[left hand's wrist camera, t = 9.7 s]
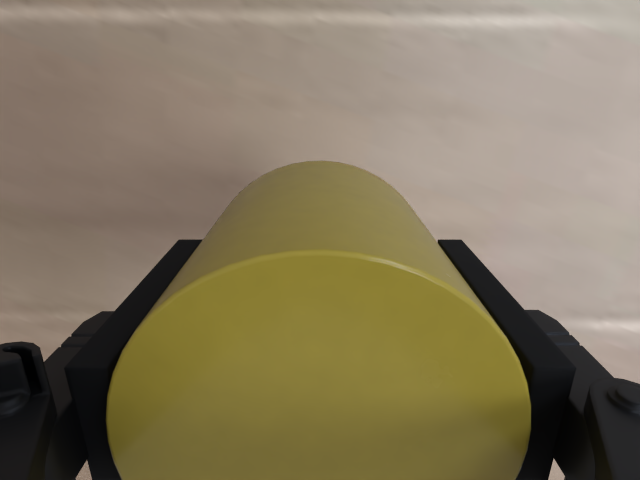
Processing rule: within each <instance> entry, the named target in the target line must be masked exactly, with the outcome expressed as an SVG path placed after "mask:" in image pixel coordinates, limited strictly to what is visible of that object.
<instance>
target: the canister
mask: <svg viewBox="0 0 640 480" xmlns="http://www.w3.org/2000/svg"><path fill="white" fill-rule="evenodd" d="M106 426H107V436H108V443H109V447H110V450H111V454H112V457H113V461H114V464H115V466H116V468H117V470H118V473H119V475H120V477H121V479H122V480H516V478H517V476H518V474H519V472H520V470H521V467H522V464H523V461H524V458H525V455H526V452H527V449H528V443H529V437H530V431H531V402H530V396H529V390H528V385H527V380H526V378H525V375H524V372H523V369H522V366H521V363H520V360H519V358H518V357H517V355H516V353H515V351H514V349H513V348H512V346H511V344H510V342H509V340H508V339H507V337H506V336H505V334H504V333H503V332H502V330H501V329H500V328H499V326H498V325H497V323H496V322H495V321H494V319H493V318H492V317H491V315H490V314H489V313H488V311H487V310H486V308H485V307H484V306H483V304H482V303H481V302H480V300H479V299H478V298H477V296H476V295H475V293H474V292H473V291H472V289H471V288H470V287H469V285H468V284H467V283H466V281H465V280H464V278H463V277H462V276H461V274H460V273H459V272H458V270H457V269H456V268H455V266H454V265H453V263H452V262H451V261H450V259H449V258H448V257H447V255H446V254H445V252H444V251H443V250H442V248H441V247H440V246H439V244H438V243H437V242H436V240H435V239H434V237H433V236H432V235H431V233H430V232H429V231H428V229H427V228H426V227H425V225H424V224H423V222H422V221H421V220H420V218H419V217H418V216H417V214H416V213H415V212H414V210H413V209H412V207H411V206H410V205H409V204H408V202H407V201H406V200H405V199H404V197H403V196H402V195H401V194H400V193H399V192H398V191H397V190H396V189H394V188H393V187H392V186H391V185H390V184H388V183H387V182H385V181H384V180H383V179H381V178H380V177H378V176H376V175H374V174H372V173H370V172H368V171H366V170H363V169H361V168H358V167H355V166H352V165H348V164H344V163H339V162H330V161H306V162H300V163H295V164H290V165H287V166H284V167H280V168H277V169H275V170H273V171H271V172H269V173H266V174H264V175H262V176H261V177H259V178H258V179H256V180H255V181H253V182H252V183H250V184H249V185H248V186H247V187H245V188H244V189H243V190H242V191H241V192H240V193H239V194H238V195H237V196H236V197H235V198H234V199H233V201H232V202H231V203H230V204H229V205H228V207H227V208H226V209H225V211H224V212H223V213H222V215H221V216H220V217H219V219H218V220H217V221H216V223H215V224H214V226H213V227H212V228H211V230H210V231H209V232H208V234H207V235H206V236H205V238H204V239H203V240H202V242H201V243H200V244H199V246H198V247H197V248H196V250H195V251H194V252H193V254H192V255H191V256H190V258H189V259H188V260H187V262H186V263H185V264H184V266H183V267H182V268H181V270H180V271H179V272H178V274H177V275H176V276H175V278H174V279H173V280H172V282H171V283H170V284H169V286H168V287H167V288H166V290H165V291H164V292H163V294H162V295H161V296H160V298H159V299H158V301H157V302H156V303H155V305H154V306H153V307H152V309H151V310H150V311H149V313H148V314H147V315H146V317H145V318H144V319H143V321H142V322H141V323H140V325H139V326H138V327H137V329H136V330H135V332H134V333H133V335H132V336H131V338H130V339H129V341H128V343H127V344H126V346H125V347H124V349H123V350H122V352H121V355H120V357H119V359H118V362H117V364H116V366H115V369H114V371H113V374H112V378H111V382H110V386H109V391H108V395H107V409H106Z"/></svg>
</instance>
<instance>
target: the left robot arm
mask: <svg viewBox="0 0 640 480" xmlns="http://www.w3.org/2000/svg"><path fill="white" fill-rule="evenodd" d="M201 242H202V240H178V241H177V242H176V244H175V245H174V246H173V247H172V248H171V249H170V250H169V251H168V252H167V254H166V255H165V256H164V257H163V258H162V259H161V260H160V261H159V262H158V264H157V265H156V266H155V267H154V268H153V269H152V270H151V271H150V273H149V274H148V275H147V276H146V277H145V278H144V279H143V280H142V281H141V283H140V284H139V285H138V286H137V287H136V288H135V289H134V290H133V291H132V293H131V294H130V295H129V296H128V297H127V298H126V299H125V300H124V301H123V303H122V304H121V305H120V306H119V307H118V308H117V309H116V310H115V311H102V312H100V313H98V314H97V315H95V316H93V317H91V318H90V319H88V320H86V321H84V322H83V323H82V324H81V325H80V326H79V327H78V328H77V329H76V330H75V331H74V332H73V333H72V336H71V337H68V338H67V339H66V340H65V341H64V342H63V343H62V344H61V347H58V348H57V349H56V350H55V351H54V353H53V354H52V355H51V356H50V357H49V358H48V359H47V360H46V361H45V362H44V361H43V358H42V354H41V350H40V347H38V346H37V345H35V344H34V343H28V342H12V343H4V344H1V345H0V480H76V476H77V475H78V473H79V471H80V470H81V468H82V467H83V465H84V463H85V462H86V460H87V461H88V465H89V469H90V472H91V476H92V480H122V479H121V477H120V475H119V473H118V470H117V468H116V466H115V464H114V461H113V457H112V454H111V450H110V447H109V443H108V436H107V426H106V409H107V395H108V391H109V386H110V382H111V378H112V374H113V371H114V369H115V366H116V364H117V362H118V359H119V357H120V355H121V352H122V350H123V349H124V347H125V346H126V344H127V343H128V341H129V339H130V338H131V336H132V335H133V333H134V332H135V330H136V329H137V327H138V326H139V325H140V323H141V322H142V321H143V319H144V318H145V317H146V315H147V314H148V313H149V311H150V310H151V309H152V307H153V306H154V305H155V303H156V302H157V301H158V299H159V298H160V296H161V295H162V294H163V292H164V291H165V290H166V288H167V287H168V286H169V284H170V283H171V282H172V280H173V279H174V278H175V276H176V275H177V274H178V272H179V271H180V270H181V268H182V267H183V266H184V264H185V263H186V262H187V260H188V259H189V258H190V256H191V255H192V254H193V252H194V251H195V250H196V248H197V247H198V246H199V244H200V243H201ZM438 244H439V246H440V247H441V248H442V250H443V251H444V252H445V254H446V255H447V257H448V258H449V259H450V261H451V262H452V263H453V265H454V266H455V268H456V269H457V270H458V272H459V273H460V274H461V276H462V277H463V278H464V280H465V281H466V283H467V284H468V285H469V287H470V288H471V289H472V291H473V292H474V293H475V295H476V296H477V298H478V299H479V300H480V302H481V303H482V304H483V306H484V307H485V308H486V310H487V311H488V313H489V314H490V315H491V317H492V318H493V319H494V321H495V322H496V323H497V325H498V326H499V328H500V329H501V330H502V332H503V333H504V334H505V336H506V337H507V339H508V340H509V342H510V344H511V346H512V348H513V349H514V351H515V353H516V355H517V357H518V358H519V360H520V363H521V366H522V369H523V372H524V375H525V378H526V380H527V385H528V390H529V396H530V402H531V431H530V437H529V443H528V449H527V452H526V455H525V458H524V461H523V464H522V467H521V470H520V472H519V474H518V476H517V478H516V480H548V478H549V474H550V470H551V466H552V462H553V458H554V459H555V461H556V462H557V464H558V466H559V467H560V469H561V470H562V472H563V474H564V475H565V478H564V480H640V384H638V383H635V382H631V381H628V380H625V379H618V378H614V377H613V376H612V375H611V374H610V373H609V372H608V371H607V370H606V369H605V368H604V367H603V366H602V365H601V364H600V363H599V362H598V361H597V360H596V359H595V358H594V357H593V356H592V355H591V354H590V353H589V352H588V351H587V350H586V349H585V348H584V347H583V346H580V345H579V342H578V341H577V340H576V339H575V338H574V337H573V336H572V335H569V332H568V331H567V330H566V329H565V328H564V327H563V326H562V325H561V324H560V323H559V322H558V321H557V320H555V319H553V318H552V317H550V316H548V315H546V314H545V313H543V312H541V311H539V310H524V309H523V308H522V307H521V306H520V304H519V303H518V302H517V301H516V300H515V299H514V298H513V297H512V296H511V294H510V293H509V292H508V291H507V290H506V289H505V288H504V287H503V286H502V284H501V283H500V282H499V281H498V280H497V279H496V278H495V277H494V276H493V274H492V273H491V272H490V271H489V270H488V269H487V268H486V267H485V265H484V264H483V263H482V262H481V261H480V260H479V259H478V258H477V257H476V255H475V254H474V253H473V252H472V251H471V250H470V249H469V248H468V247H467V245H466V244H465V243H464V242H463V241H462V240H438Z"/></svg>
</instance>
